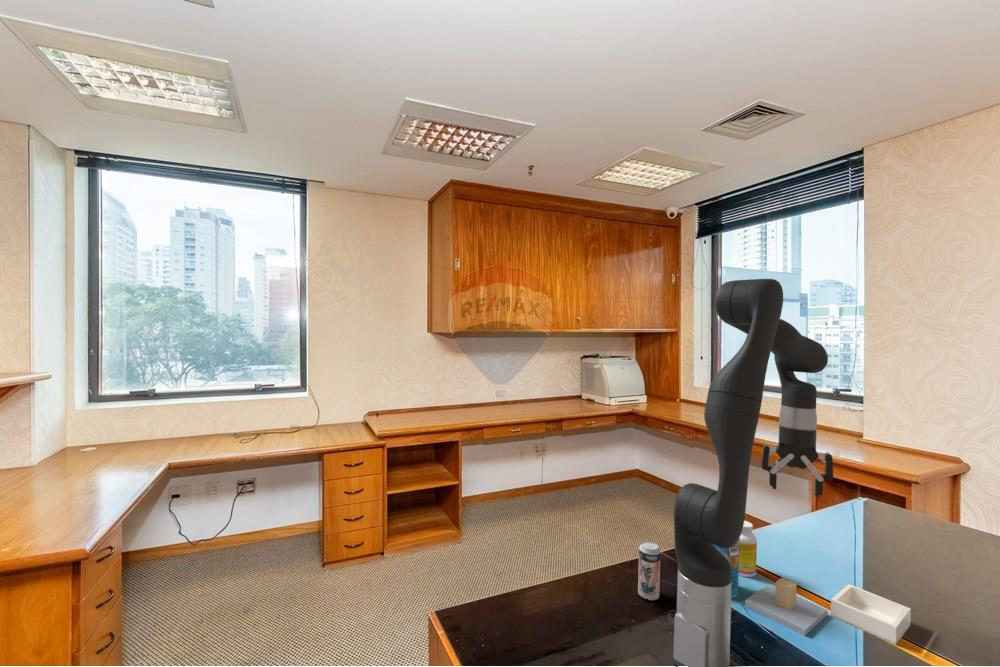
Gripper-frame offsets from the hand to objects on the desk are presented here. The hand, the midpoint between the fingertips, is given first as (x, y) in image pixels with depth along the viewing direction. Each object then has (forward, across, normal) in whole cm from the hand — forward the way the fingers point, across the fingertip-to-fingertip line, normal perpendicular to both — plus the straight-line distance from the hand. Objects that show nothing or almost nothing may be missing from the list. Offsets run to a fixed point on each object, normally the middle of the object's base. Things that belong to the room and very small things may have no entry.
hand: (795, 492), depth 106 cm
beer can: (+26, -30, -19) cm, 44 cm away
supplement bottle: (+25, -11, +5) cm, 28 cm away
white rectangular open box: (+25, +14, -3) cm, 29 cm away
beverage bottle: (+25, -15, -7) cm, 30 cm away
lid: (+24, -2, -9) cm, 26 cm away
